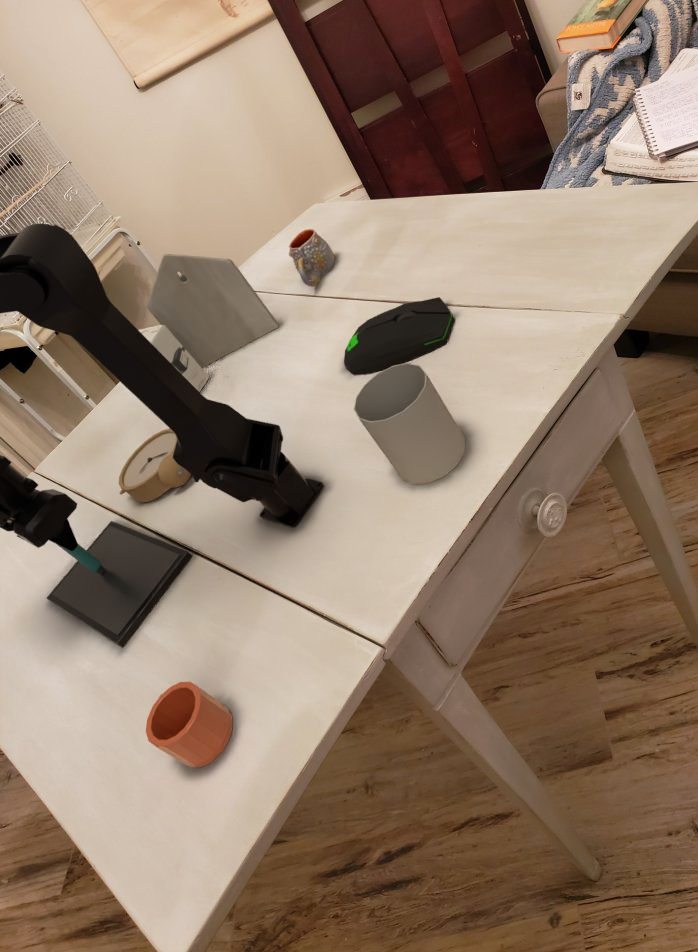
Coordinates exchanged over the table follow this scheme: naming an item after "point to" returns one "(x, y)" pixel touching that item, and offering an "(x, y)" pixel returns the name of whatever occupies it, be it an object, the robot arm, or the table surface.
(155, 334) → the ink box
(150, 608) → the tablet
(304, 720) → the table surface
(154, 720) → the pen pot
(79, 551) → the stylus
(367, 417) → the cup
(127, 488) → the alarm clock
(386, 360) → the computer mouse
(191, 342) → the grey house-shaped block
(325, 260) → the mug
